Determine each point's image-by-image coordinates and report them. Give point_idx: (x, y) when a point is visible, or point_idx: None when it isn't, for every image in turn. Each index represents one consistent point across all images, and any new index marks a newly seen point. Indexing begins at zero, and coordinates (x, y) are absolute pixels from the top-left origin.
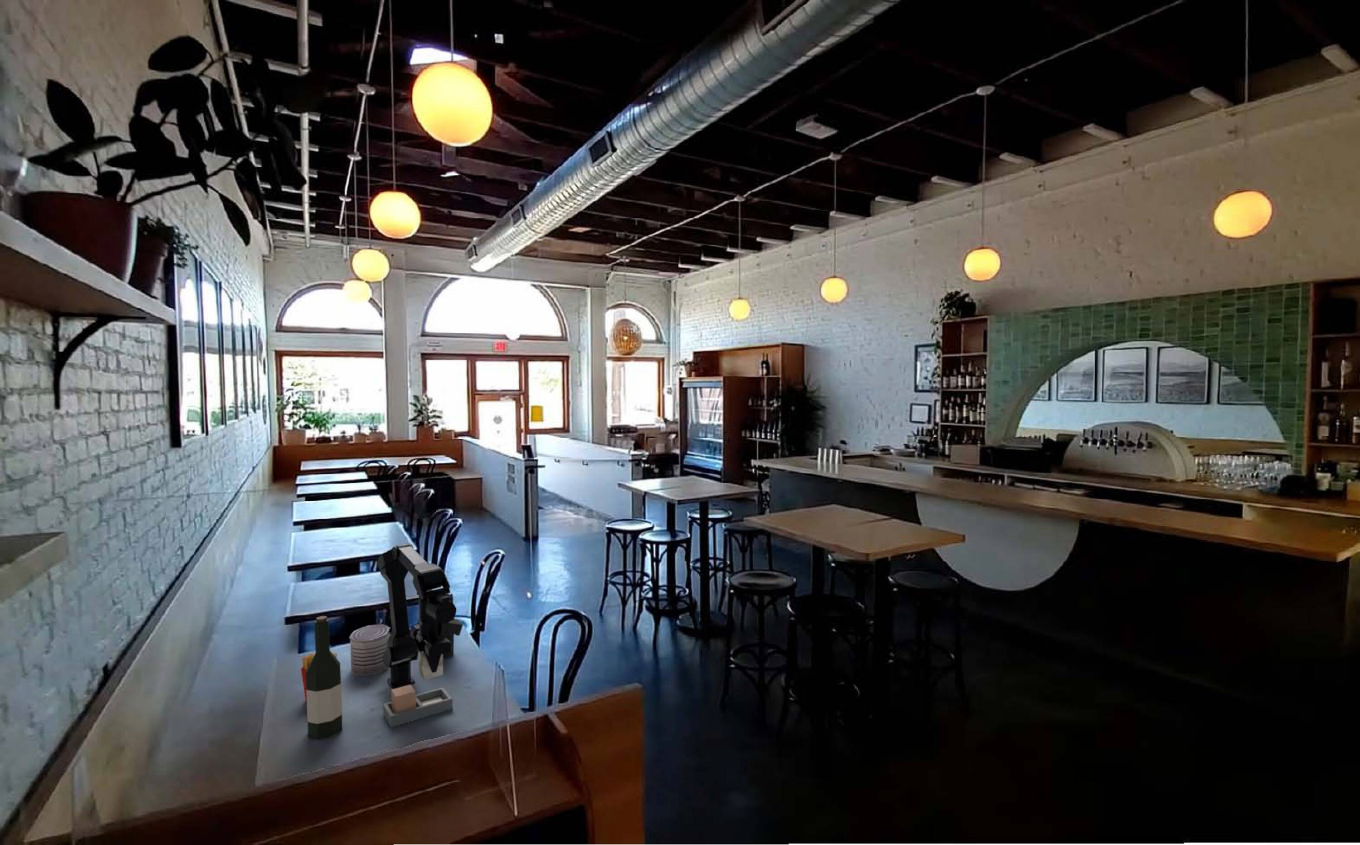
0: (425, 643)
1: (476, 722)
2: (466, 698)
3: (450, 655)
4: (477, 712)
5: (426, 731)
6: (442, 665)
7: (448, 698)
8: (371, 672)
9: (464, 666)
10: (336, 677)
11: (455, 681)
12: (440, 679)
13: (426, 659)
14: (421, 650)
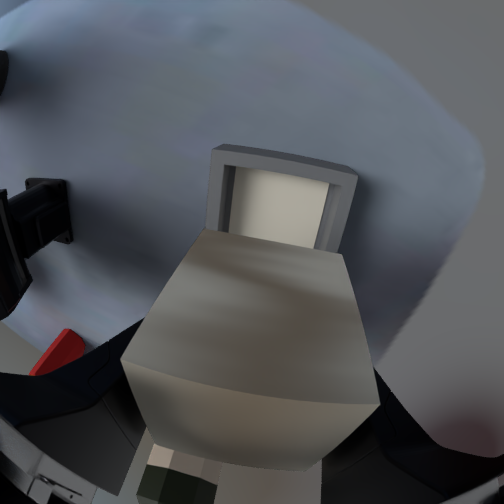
0: (102, 466)
1: (475, 173)
2: (303, 79)
3: (5, 58)
4: (434, 125)
5: (396, 292)
6: (356, 306)
7: (344, 187)
8: None
9: (63, 21)
10: (202, 497)
11: (129, 60)
12: (85, 103)
13: (323, 460)
14: (138, 437)
